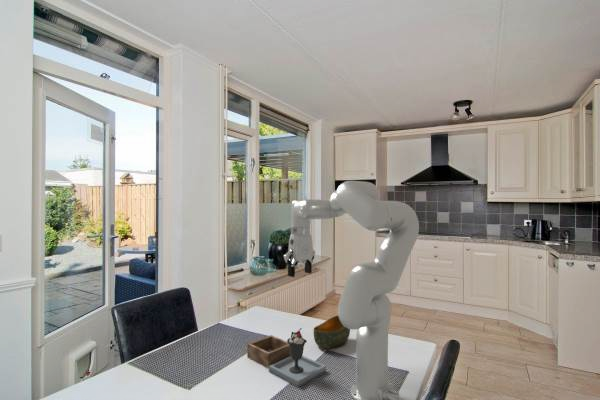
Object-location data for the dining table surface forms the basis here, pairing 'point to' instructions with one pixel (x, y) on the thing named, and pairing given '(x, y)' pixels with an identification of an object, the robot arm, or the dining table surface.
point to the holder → (260, 347)
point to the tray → (309, 373)
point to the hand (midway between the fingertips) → (299, 274)
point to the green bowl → (331, 334)
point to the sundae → (296, 350)
